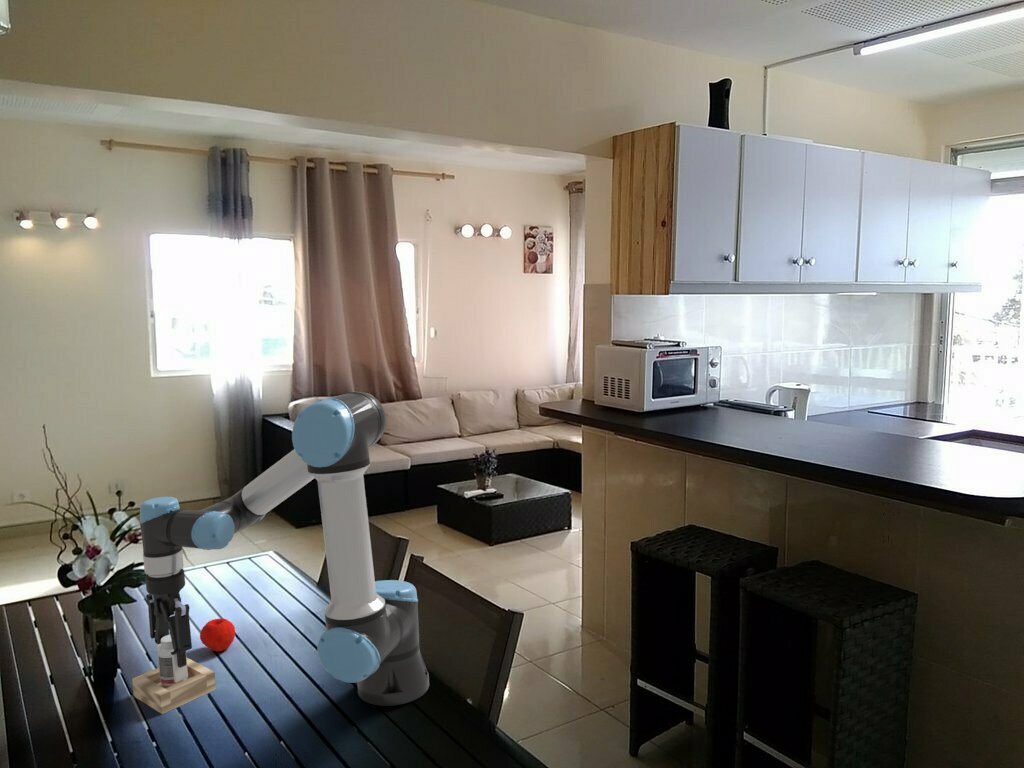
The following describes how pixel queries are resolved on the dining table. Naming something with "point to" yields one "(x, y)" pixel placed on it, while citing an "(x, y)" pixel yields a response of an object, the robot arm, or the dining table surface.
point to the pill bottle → (166, 662)
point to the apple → (218, 634)
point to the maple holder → (173, 687)
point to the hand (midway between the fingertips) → (173, 675)
